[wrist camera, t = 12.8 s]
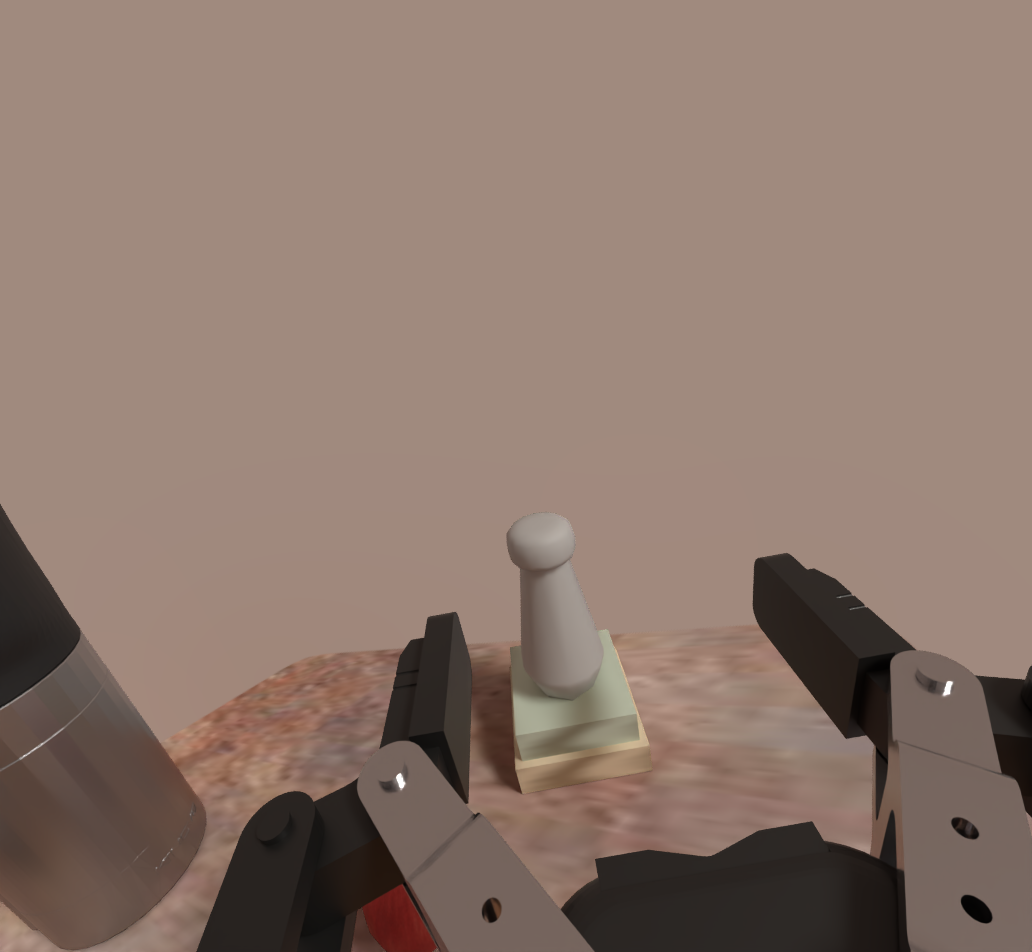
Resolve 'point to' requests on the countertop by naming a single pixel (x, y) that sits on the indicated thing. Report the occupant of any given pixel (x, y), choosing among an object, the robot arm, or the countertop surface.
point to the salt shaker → (553, 608)
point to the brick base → (583, 762)
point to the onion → (397, 923)
